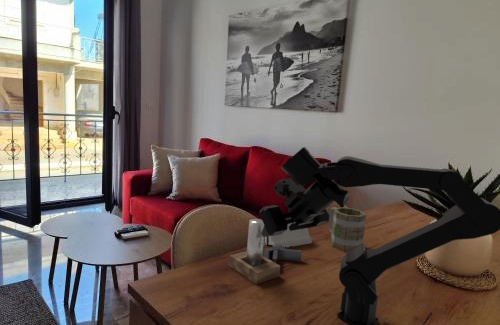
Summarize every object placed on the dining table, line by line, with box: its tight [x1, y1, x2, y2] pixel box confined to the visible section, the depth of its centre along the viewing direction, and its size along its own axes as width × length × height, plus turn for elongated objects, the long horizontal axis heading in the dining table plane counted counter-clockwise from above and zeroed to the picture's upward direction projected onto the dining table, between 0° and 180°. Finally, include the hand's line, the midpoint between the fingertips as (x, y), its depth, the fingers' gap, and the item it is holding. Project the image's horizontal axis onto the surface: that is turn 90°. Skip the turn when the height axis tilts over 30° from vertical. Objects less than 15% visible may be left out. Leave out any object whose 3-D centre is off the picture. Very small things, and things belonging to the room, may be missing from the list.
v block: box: [263, 245, 303, 264], centre depth 99 cm, size 7×12×3 cm, turn 128°
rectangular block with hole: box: [228, 250, 281, 285], centre depth 91 cm, size 12×8×3 cm, turn 38°
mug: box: [328, 206, 367, 252], centre depth 117 cm, size 16×11×12 cm
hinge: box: [264, 224, 313, 248], centre depth 114 cm, size 17×5×10 cm, turn 121°
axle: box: [246, 218, 265, 267], centre depth 91 cm, size 4×4×14 cm
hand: (276, 231), depth 84 cm, fingers open, 9 cm apart
